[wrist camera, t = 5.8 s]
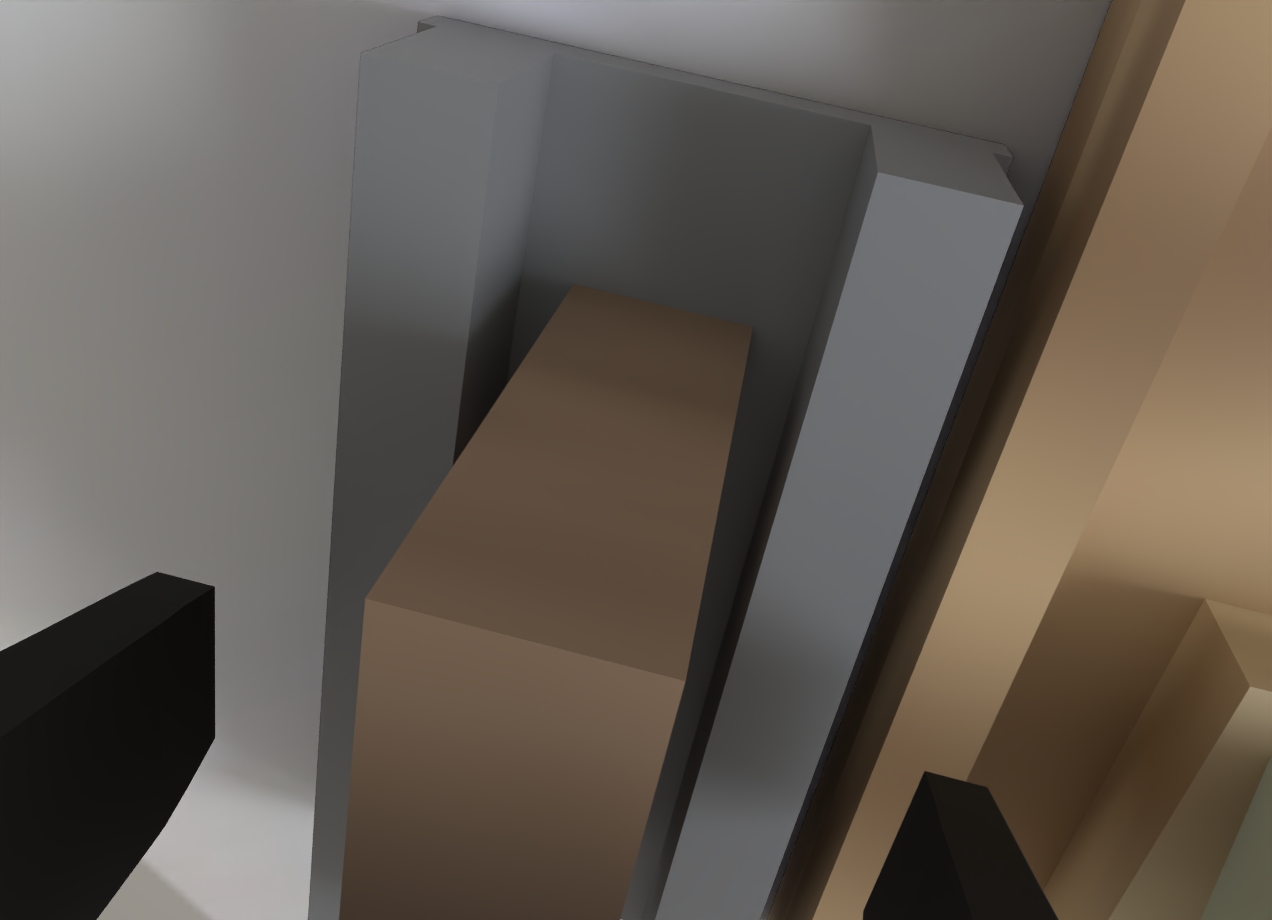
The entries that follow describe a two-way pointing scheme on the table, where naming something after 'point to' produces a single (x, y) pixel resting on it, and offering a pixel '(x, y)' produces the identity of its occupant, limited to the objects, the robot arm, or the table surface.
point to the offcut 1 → (1177, 780)
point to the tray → (1081, 462)
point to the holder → (683, 279)
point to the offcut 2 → (1248, 864)
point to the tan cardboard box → (543, 626)
